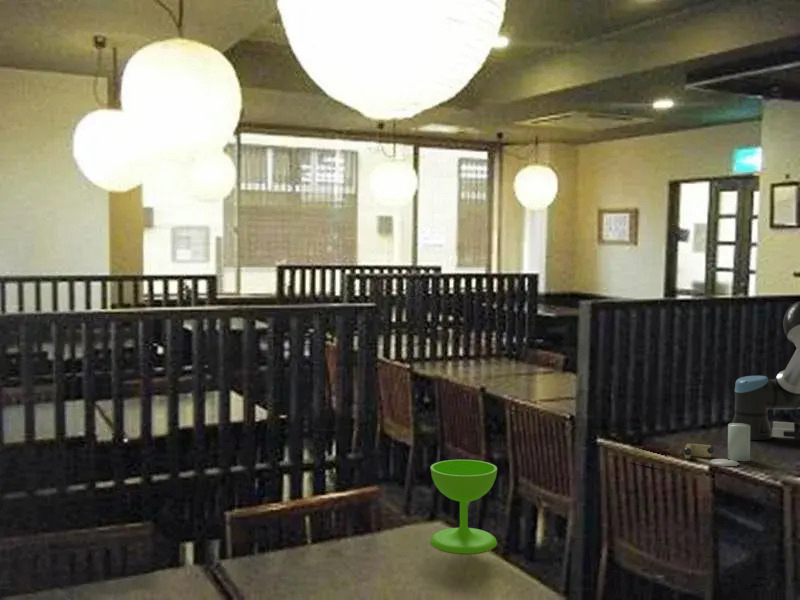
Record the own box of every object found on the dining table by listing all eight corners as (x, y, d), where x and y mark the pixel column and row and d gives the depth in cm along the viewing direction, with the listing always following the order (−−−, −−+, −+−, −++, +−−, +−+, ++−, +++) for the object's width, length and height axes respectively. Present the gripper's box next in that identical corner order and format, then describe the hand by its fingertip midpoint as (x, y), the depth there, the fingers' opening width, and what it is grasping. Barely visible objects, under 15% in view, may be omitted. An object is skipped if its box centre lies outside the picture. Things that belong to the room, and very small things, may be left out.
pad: (711, 459, 269) (711, 457, 269) (739, 462, 265) (739, 460, 265) (708, 465, 261) (708, 463, 261) (738, 468, 257) (738, 466, 257)
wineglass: (476, 527, 199) (476, 457, 198) (509, 547, 184) (509, 471, 184) (419, 536, 193) (419, 463, 192) (449, 557, 178) (449, 479, 177)
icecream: (620, 443, 266) (662, 454, 256) (630, 435, 271) (672, 445, 261) (621, 461, 268) (663, 473, 258) (631, 453, 273) (673, 463, 263)
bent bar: (685, 454, 278) (686, 442, 278) (714, 456, 273) (715, 445, 273) (682, 459, 270) (683, 447, 270) (712, 462, 266) (712, 450, 266)
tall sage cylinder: (728, 456, 274) (728, 422, 273) (750, 458, 270) (750, 424, 270) (727, 460, 267) (727, 425, 267) (749, 463, 264) (749, 427, 264)
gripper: (847, 453, 243) (771, 446, 252) (842, 438, 265) (773, 433, 275) (847, 428, 243) (772, 423, 252) (842, 416, 265) (773, 412, 274)
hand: (772, 428), depth 263 cm, fingers open, 13 cm apart
